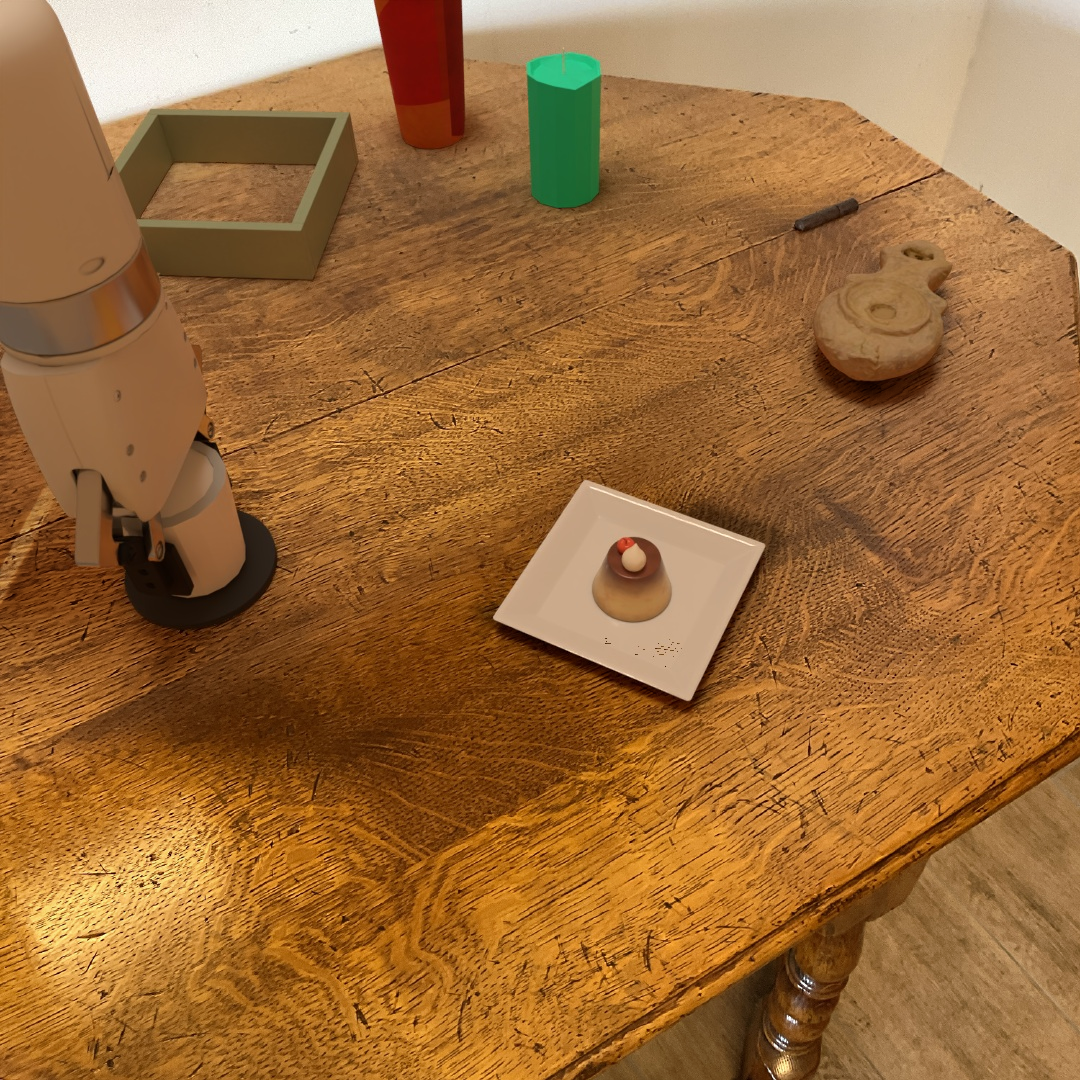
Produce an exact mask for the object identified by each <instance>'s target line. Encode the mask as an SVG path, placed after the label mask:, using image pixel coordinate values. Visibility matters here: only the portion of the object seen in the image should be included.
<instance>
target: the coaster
mask: <svg viewBox="0 0 1080 1080" xmlns="http://www.w3.org/2000/svg"><path fill="white" fill-rule="evenodd" d="M236 510H237V514H238V518H239V522H240V526H241V530H242V534H243V539H244V543H245V561H244V563H243V565H242V567H241V569H240V571H239V573H238V575H237V576H235V577H234V578H233V579H232V580H231V581H230V582H229V583H228V584H227V585H226V586H225V587H222V588H220V589H218V590H216V591H214V592H212V593H210V594H208V595H203V596H197V597H191V598H185V597H179V596H173V595H166V596H164V597H158V596H149V595H146V594H144V593H140V592H138V591H137V590H136V589H135V587H134V585H133V583H132V582H131V580H130V578H129V576H128V575H127V573H126V571H125V570H124V576H123V577H124V578H123V579H124V581H123V584H124V589H125V593H126V596H127V598H128V600H129V602H130V603H131V605H132V607H133V608H134V609H135V611H136V612H137V613H138V614H139V615H140V616H141V617H142V618H144V619H145V620H146V621H149V622H150V623H152V624H154V625H157V626H159V627H164V628H167V629H172V630H180V631H181V630H183V631H184V630H185V631H187V630H191V631H192V630H199V629H205V628H209V627H212V626H216V625H219V624H222V623H224V622H226V621H227V622H228V621H229V620H231V619H233V618H235V617H237V616H239V615H241V614H242V613H243V612H245V611H247V609H249V608H250V607H251V606H252V605H254V604H255V603H256V602H257V601H258V600H259V599H260V598H261V597H262V596H263V595H264V593H265V592H266V590H267V589H268V588H269V586H270V585H271V582H272V580H273V578H274V575H275V573H276V570H277V565H278V549H277V546H276V543H275V540H274V537H273V535H272V533H271V531H270V530H269V529H268V527H267V525H265V524H264V523H263V522H262V521H261V520H260V519H259V518H256V516H255V515H252V514H250V513H248V512H245V511H242V510H241V509H236Z"/></svg>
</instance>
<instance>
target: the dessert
mask: <svg viewBox="0 0 1080 1080" xmlns="http://www.w3.org/2000/svg"><path fill="white" fill-rule="evenodd" d="M765 548H766V544H765V543H764V542H761V541H758V540H755V539H753V538H750V537H748V536H744V535H742V534H738V533H737V532H734V531H730V530H727V529H725V528H722V527H719V526H717V525H714V524H711V523H709V522H705V521H703V520H699V519H697V518H694V517H692V516H689V515H687V514H683V513H680V512H677V511H674V510H672V509H670V508H666V507H664V506H660V505H658V504H655V503H653V502H650V501H647V500H644V499H641V498H639V497H636V496H633V495H631V494H627V493H626V492H625V493H624V492H621V491H619V490H616V489H614V488H611V487H608V486H606V485H602V484H600V483H597V482H594V481H591V480H589V479H584V480H583V481H582V482H581V484H580V486H579V487H578V488H577V490H576V491H575V493H574V494H573V495H572V498H571V499H570V500H569V502H568V504H567V505H566V506H565V508H564V509H563V511H562V512H561V514H560V515H559V516H558V518H557V520H556V521H555V523H554V524H553V526H552V527H551V529H550V530H549V532H548V534H547V535H546V536H545V538H544V539H543V541H542V542H541V544H540V545H539V546H538V548H537V550H536V552H534V554H533V556H532V557H531V559H530V560H529V562H528V564H527V565H526V566H525V568H524V569H523V571H522V572H521V574H520V576H519V577H518V578H517V580H516V582H515V583H514V585H513V586H512V587H511V588H510V590H509V592H508V594H507V595H506V597H505V598H504V600H503V601H502V603H500V606H499V607H498V609H497V610H496V612H495V613H494V615H493V616H492V619H493V620H494V621H496V622H498V623H501V624H503V625H505V626H508V627H511V628H513V629H515V630H517V631H520V632H522V633H525V634H527V635H529V636H532V637H534V638H536V639H539V640H541V641H544V642H545V643H548V644H550V645H553V646H556V647H558V648H559V649H563V650H565V651H568V652H570V653H572V654H574V655H576V656H580V657H582V658H584V659H586V660H588V661H591V662H594V663H596V664H597V665H601V666H603V667H605V668H608V669H610V670H613V671H615V672H618V673H619V674H622V675H624V676H626V677H629V678H631V679H634V680H637V681H639V682H641V683H643V684H646V685H648V686H651V687H653V688H655V689H657V690H659V691H660V690H661V691H662V692H664V693H667V694H669V695H672V696H674V697H676V698H679V699H682V700H684V701H686V702H690V701H691V700H692V699H693V696H694V694H695V692H696V690H697V688H698V687H699V684H700V682H701V680H702V678H703V676H704V674H705V671H706V670H707V668H708V665H709V664H710V662H711V659H712V658H713V655H714V653H715V651H716V649H717V648H718V645H719V643H720V641H721V639H722V636H723V635H724V632H725V631H726V628H727V626H728V624H729V623H730V620H731V618H732V616H733V614H734V612H735V609H736V608H737V606H738V604H739V602H740V599H741V597H742V595H743V593H744V591H745V589H746V587H747V585H748V583H749V581H750V579H751V577H752V576H753V572H754V571H755V569H756V566H757V564H758V563H759V561H760V559H761V557H762V554H763V552H764V550H765ZM605 638H607V639H605ZM669 639H670V640H669ZM606 641H607V642H606ZM672 642H674V643H672ZM605 643H611V644H605ZM658 643H659V644H658ZM677 643H680V644H677ZM671 644H672V645H671ZM638 646H639V647H638ZM661 646H664V647H661ZM668 647H670V648H668ZM655 648H661V649H655ZM675 648H676V649H675ZM681 648H682V649H681ZM643 649H645V650H643ZM664 649H668V650H664ZM670 650H674V651H670ZM657 651H659V652H657ZM677 651H678V652H677ZM665 652H666V653H665ZM635 654H638V655H635ZM659 654H664V655H659ZM653 656H654V657H653ZM673 656H674V657H673ZM665 666H666V667H665Z"/></svg>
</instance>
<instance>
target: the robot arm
mask: <svg viewBox="0 0 1080 1080" xmlns="http://www.w3.org/2000/svg"><path fill="white" fill-rule="evenodd" d="M107 141H108V140H107V138H106V136H105V133H104V130H103V128H102V126H101V123H100V121H99V118H98V115H97V111H96V110H95V106H94V104H93V102H92V99H91V97H90V94H89V92H88V89H87V86H86V84H85V81H84V79H83V76H82V73H81V70H80V68H79V66H78V62H77V59H76V58H75V55H74V52H73V50H72V47H71V45H70V42H69V40H68V37H67V34H66V33H65V30H64V28H63V25H62V23H61V21H60V19H59V17H58V15H57V13H56V12H55V10H54V9H53V7H52V5H51V4H50V3H49V2H48V0H0V346H1V347H2V349H3V350H4V351H3V354H2V357H1V359H0V368H1V372H2V376H3V380H4V384H5V389H6V390H7V391H6V392H7V394H8V397H9V401H10V403H11V406H12V409H13V412H14V414H15V417H16V420H17V422H18V425H19V427H20V429H21V431H22V434H23V436H24V438H25V440H26V443H27V445H28V447H29V450H30V452H31V454H32V456H33V458H34V461H35V462H36V465H37V467H38V468H39V470H40V472H41V474H42V476H43V478H44V480H45V482H46V484H47V486H48V487H49V490H50V491H51V494H52V495H53V497H54V499H55V500H56V502H57V503H58V505H59V507H60V508H61V510H62V511H63V513H64V514H65V515H66V516H67V517H68V518H70V519H73V520H75V533H74V534H75V538H74V562H75V565H76V566H77V567H79V568H92V569H93V568H96V569H109V568H117V567H118V568H119V567H123V569H124V572H125V571H126V573H127V575H128V576H129V578H130V580H131V582H132V583H133V585H134V587H135V589H136V590H137V591H138V592H140V593H144V594H146V595H149V596H158V597H164V596H166V595H177V596H190V595H191V593H192V591H193V588H194V584H193V581H192V579H191V577H190V575H189V573H188V571H187V569H186V567H185V565H184V563H183V561H182V559H181V557H180V555H179V553H178V551H177V549H176V547H175V545H174V544H172V543H167V542H165V540H164V533H163V526H162V520H161V513H160V510H161V509H162V508H163V506H164V504H165V503H166V501H167V499H168V497H169V494H170V492H171V490H172V488H173V486H174V484H175V481H176V479H177V477H178V475H179V472H180V470H181V468H182V465H183V463H184V461H185V459H186V456H187V454H188V452H189V449H190V447H191V445H192V442H193V441H200V442H201V443H203V444H205V445H207V446H209V447H211V448H212V449H214V450H216V451H217V453H218V454H219V456H220V457H221V459H222V461H223V462H224V460H223V457H222V454H221V452H220V449H219V446H218V444H217V442H215V441H213V439H214V438H215V435H216V425H215V422H214V421H213V419H212V418H211V417H209V416H208V414H207V401H208V393H209V392H208V391H207V390H208V388H207V387H206V382H205V380H204V377H203V351H202V347H201V345H199V344H192V343H191V341H190V339H189V337H188V335H187V332H186V330H185V328H184V325H183V324H182V322H181V319H180V317H179V315H178V313H177V311H176V309H175V307H174V306H173V303H172V301H171V300H170V297H169V296H168V294H167V292H166V290H165V288H164V287H163V285H162V283H161V280H160V278H159V273H157V272H156V269H155V267H154V264H153V261H152V259H151V256H150V254H149V251H148V248H147V246H146V243H145V240H144V238H143V235H142V233H141V230H140V228H139V225H138V222H137V219H136V217H135V214H134V212H133V209H132V206H131V204H130V201H129V199H128V196H127V193H126V191H125V188H124V185H123V183H122V180H121V178H120V175H119V172H118V170H117V167H116V165H115V160H114V156H113V154H112V151H111V149H110V147H109V144H108V142H107ZM226 470H227V468H226ZM227 474H228V478H229V482H230V486H231V490H232V488H233V482H232V479H231V477H230V475H229V472H228V470H227ZM121 517H127V518H139V519H140V520H141V526H142V532H143V536H124V534H123V528H122V522H121Z"/></svg>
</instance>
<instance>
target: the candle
mask: <svg viewBox="0 0 1080 1080" xmlns="http://www.w3.org/2000/svg"><path fill="white" fill-rule="evenodd" d="M526 86H527V89H526V90H527V109H528V110H527V111H528V112H527V114H528V137H529V138H528V139H529V163H530V164H529V165H530V166H529V167H530V189H531V190H530V191H531V196H532V197H533V198H534V199H535V200H537V201H538V203H540V204H541V205H544V206H549V207H552V208H555V209H561V208H562V209H563V208H564V209H565V208H566V209H567V208H576V207H577V208H578V207H579V206H583V205H585V204H588V203H591V202H592V200H594V199H595V198H596V196H597V195H598V194H599V193H600V157H601V156H600V155H601V154H600V152H601V151H600V149H601V148H600V147H601V146H600V145H601V101H602V100H601V97H602V96H601V94H602V69H601V61H600V60H598V59H597V58H594V57H593V56H591V55H590V54H584V53H578V52H573V51H570V52H565V47H562V53H555V54H547V55H544V56H538V57H535V58H533V59H531V60H529V61H527V62H526Z"/></svg>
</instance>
